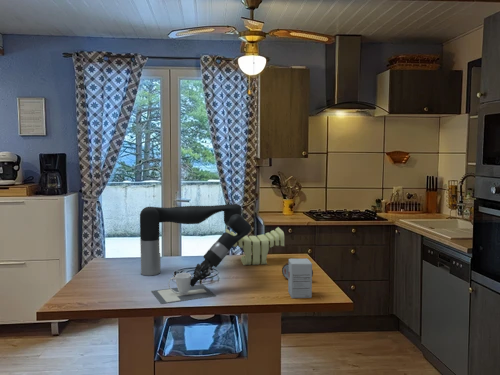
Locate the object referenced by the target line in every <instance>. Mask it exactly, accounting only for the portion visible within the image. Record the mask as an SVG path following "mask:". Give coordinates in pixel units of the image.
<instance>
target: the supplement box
mask: <svg viewBox="0 0 500 375" xmlns="http://www.w3.org/2000/svg"><path fill="white" fill-rule="evenodd" d="M288 262H289V269H288V279H287V280H288V281H287V282H288V284H287V286H288V288H287V290H288V295H289V296H290V298H291V299H307V298H308V299H312V295H313V291H312V290H313V276H312V270H313V263H312V262H311V260H309V258H288Z"/></svg>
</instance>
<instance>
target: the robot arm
mask: <svg viewBox="0 0 500 375" xmlns="http://www.w3.org/2000/svg"><path fill="white" fill-rule="evenodd" d="M242 209H243V208H242V205H241V204H237V203H235V204H234V203H231V204H229V203H228V204H216V205H185V206H183V205H182V206H173V207H161V206H160V207H158V206H146V207H144V208H142V210H141V211H140V214H139V234H140V235H139V238H140V239H139V240H140V243H139V244H140V274H141V275H143V276H148V277H149V276H156V275H159V274H160V273H161V271H162V270H161V268H162V266H161V252H160V251H161V250H160V223H175V224H181V225H199V224H201V223H203V222H205V221H206V220H207V219H209V218H210V217H212V216H214V215H216V214H219V213H221V212H223V221H224V222H223V223H224V224H225V225H226V226H228V227H229V228H230V229H231V231H232V232H234V233H235V235H236V233H237V235H236V236H233V235H231V234H229V233H227V232H226V231H225V232H224V233H222V234H221V235H220V237H219V238H218V239H217V240H216V242H214V243H213V244H212V246H210V248H209V249H208V250H207V251H206V252H205V254H204V255H203V257H202V258H203V259H204V260H203V261H201V263H197V264H196V266H195V268H194V271H193V273H192V274H193V276H192V277H191V283H190V286H192V287H193V286H194V285H197V283H198V281H203V280H204V279H205V278H207V277H209V276H211V274H212V272H211V270H213V267H214V268H217V267H218V266H219V265H220V263H221V262H223V260H224V259H225V257H227V255H228V253H229V251H231V250H232V248H234V245H235V243H237V242H238V241H239V240H240V239H242V238H243V237H245V236H248V235H249V234H250V233H251V230H252V225H251V224H250V223H249V222H248V221H247V220H246V219H245V218H244V217H243V216H242V214H243V212H242Z"/></svg>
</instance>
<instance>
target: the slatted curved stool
mask: <svg viewBox="0 0 500 375" xmlns="http://www.w3.org/2000/svg"><path fill="white" fill-rule="evenodd" d="M225 232H227V233H229V234H231V235H233V236H236V235H237V233H236V232H235V231H233V230H229V229H228V228H225ZM274 246H277V247H278V246H281V247H285V233H284V231H283V229H281V228H280V227H279V226H277V227H276V228H275V229H273V230H272V229H271V231H270V232H266V233H265V234H264V233H263V234H258V235H246V236H245V237H243V238H242V239H240V240H239V241H238V242H237V243H235V245H234V246H233V248H236V247H238V248H241V249H243V252H244V255H242V256H241V258H240V261H241V263H242V264H243V266H251V265H253V266H254V265H257V266H258V265H268V263H267V258H268V257H267V256H268V253H269V251H270V248H272V247H274Z"/></svg>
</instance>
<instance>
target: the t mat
mask: <svg viewBox="0 0 500 375" xmlns="http://www.w3.org/2000/svg"><path fill="white" fill-rule="evenodd" d="M170 288H171V289H172V290H174V291H175V292H179V291H178V288H177V287H173V288H172V287H170ZM172 290H170V289H169V288H164V289H155V290H151V291H150V292H151V293H152V295H153V296H154V297H155V298H156V300H157V301H158V302H159V303H160V305H165V304H172V303H178V302H186V301H187V302H188V301H194V300H199V299H207V298H212V297H213V298H214V297H217V295H216V294H215V293H214V292H213V291H212V290H210V289H209V288H208V287H207V286H205V285H204V284H203V283H201V284H195V285H194V286H193V287H192V286H191V285H190V289H189V291H188V292H189V294H187V295H179V294H177V293H175V292H173V291H172Z"/></svg>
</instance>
